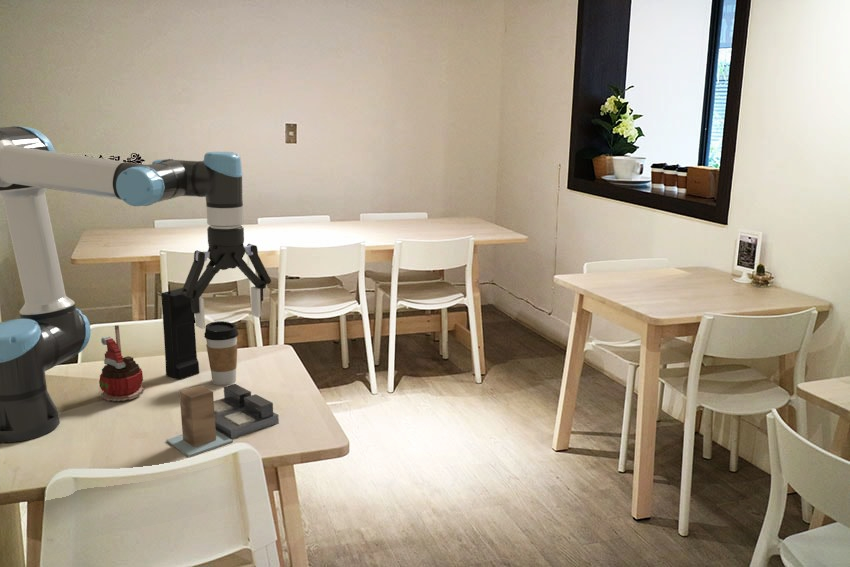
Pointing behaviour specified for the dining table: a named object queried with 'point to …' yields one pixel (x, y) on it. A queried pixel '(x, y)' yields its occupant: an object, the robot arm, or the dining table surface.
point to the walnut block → (197, 415)
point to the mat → (192, 451)
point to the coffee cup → (222, 351)
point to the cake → (119, 372)
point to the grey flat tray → (242, 412)
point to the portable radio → (179, 335)
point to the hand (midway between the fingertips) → (229, 321)
